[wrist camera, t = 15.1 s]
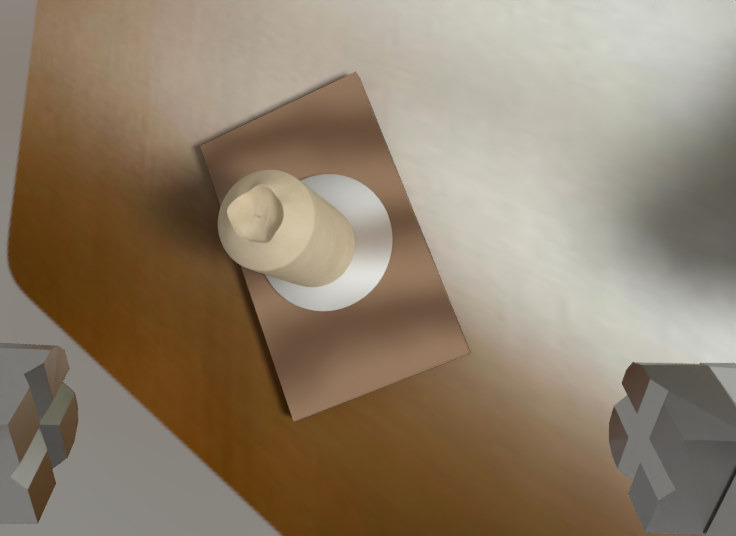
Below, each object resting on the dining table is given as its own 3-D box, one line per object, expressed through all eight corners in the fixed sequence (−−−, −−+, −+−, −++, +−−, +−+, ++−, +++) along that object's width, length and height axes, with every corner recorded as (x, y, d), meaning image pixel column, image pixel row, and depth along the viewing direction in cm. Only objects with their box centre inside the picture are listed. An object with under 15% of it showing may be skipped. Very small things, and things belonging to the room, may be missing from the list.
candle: (265, 275, 45) (191, 252, 36) (289, 195, 46) (223, 151, 36) (342, 297, 44) (287, 279, 34) (366, 215, 44) (319, 174, 34)
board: (470, 353, 43) (468, 353, 41) (299, 420, 45) (291, 421, 43) (360, 78, 47) (354, 69, 46) (207, 150, 49) (197, 144, 48)
